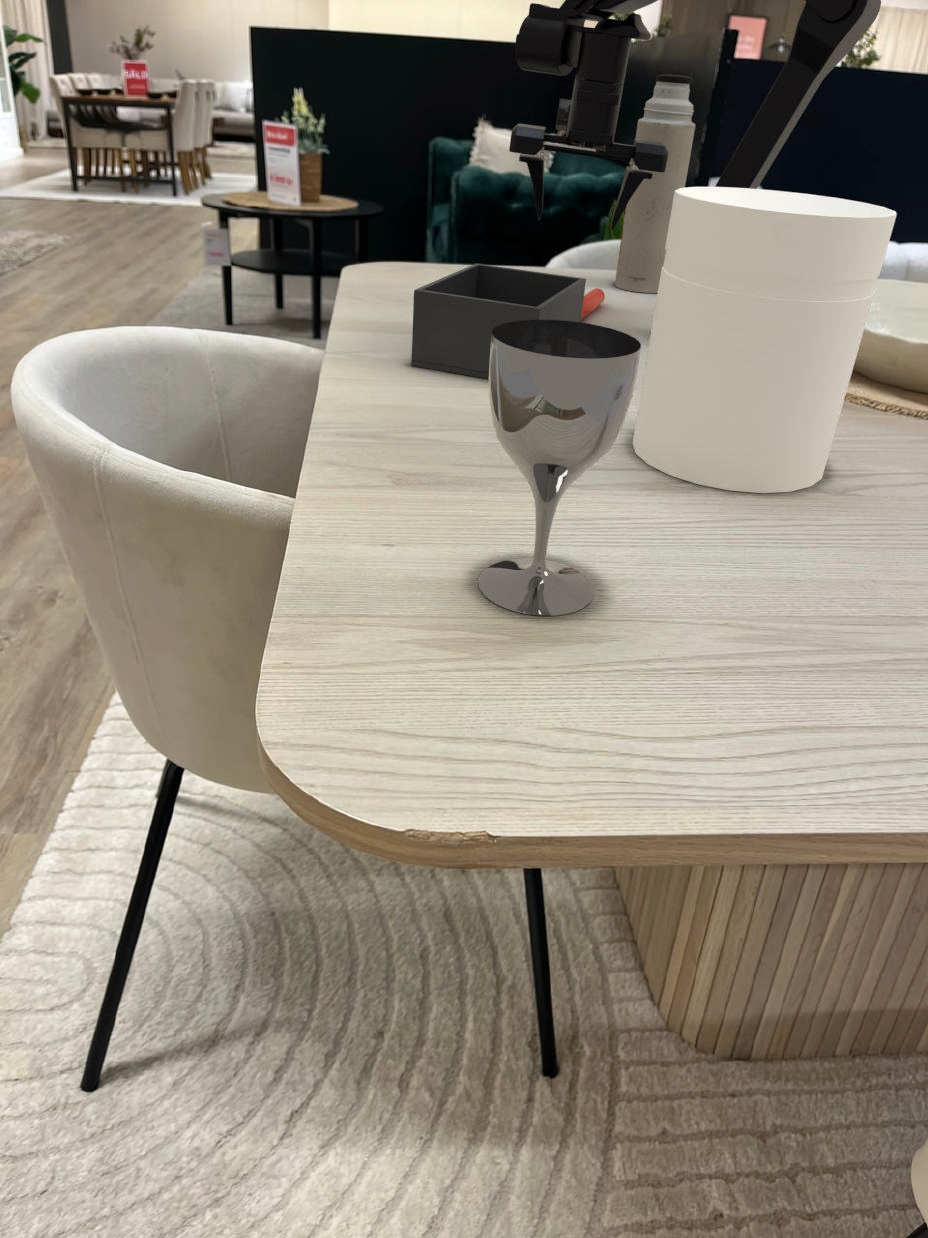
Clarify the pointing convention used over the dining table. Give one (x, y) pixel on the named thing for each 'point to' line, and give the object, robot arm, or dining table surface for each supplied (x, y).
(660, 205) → the thermos bottle
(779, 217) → the canister
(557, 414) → the wine glass
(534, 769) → the dining table surface
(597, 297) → the sausage
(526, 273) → the bin
